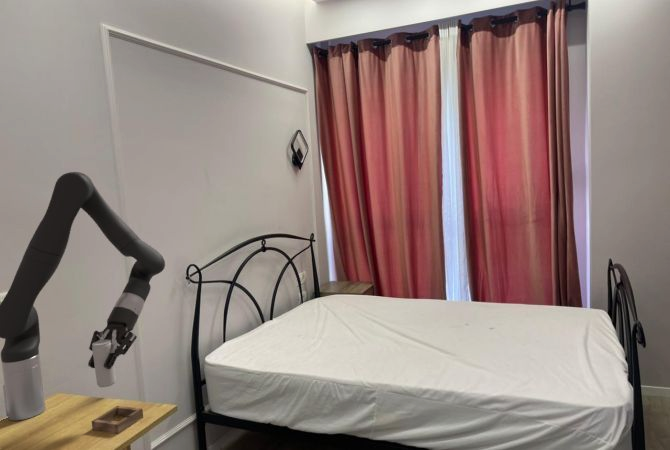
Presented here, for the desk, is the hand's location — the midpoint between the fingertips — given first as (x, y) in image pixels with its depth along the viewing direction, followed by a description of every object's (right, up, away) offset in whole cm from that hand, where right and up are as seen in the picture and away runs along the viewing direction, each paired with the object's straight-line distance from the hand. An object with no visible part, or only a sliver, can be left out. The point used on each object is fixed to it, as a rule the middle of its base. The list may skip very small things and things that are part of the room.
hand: (99, 367), depth 127 cm
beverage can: (+1, -6, +2) cm, 6 cm away
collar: (+5, -16, +1) cm, 17 cm away
